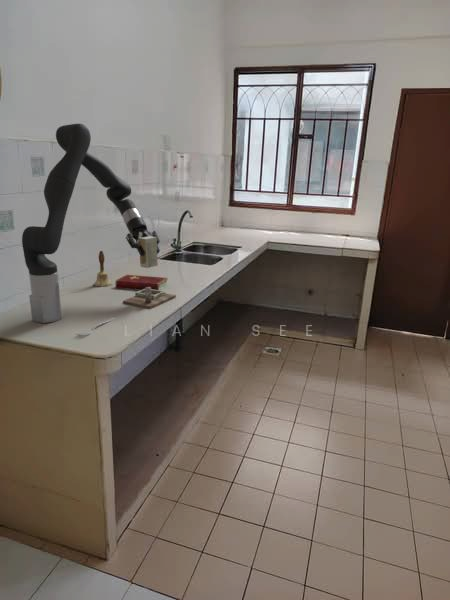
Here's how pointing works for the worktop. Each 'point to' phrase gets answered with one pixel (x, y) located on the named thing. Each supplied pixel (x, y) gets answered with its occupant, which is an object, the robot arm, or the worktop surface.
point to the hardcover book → (141, 282)
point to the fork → (95, 327)
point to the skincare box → (149, 252)
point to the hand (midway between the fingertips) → (150, 253)
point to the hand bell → (102, 273)
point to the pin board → (148, 305)
